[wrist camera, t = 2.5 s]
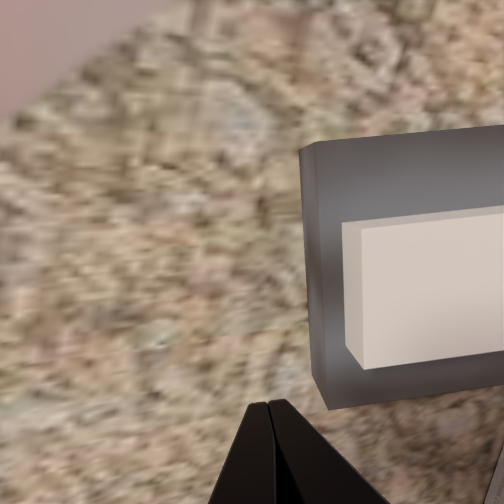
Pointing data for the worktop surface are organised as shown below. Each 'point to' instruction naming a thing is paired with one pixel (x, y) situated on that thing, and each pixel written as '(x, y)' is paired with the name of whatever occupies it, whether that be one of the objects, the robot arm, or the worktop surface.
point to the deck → (386, 206)
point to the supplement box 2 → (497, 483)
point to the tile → (424, 286)
